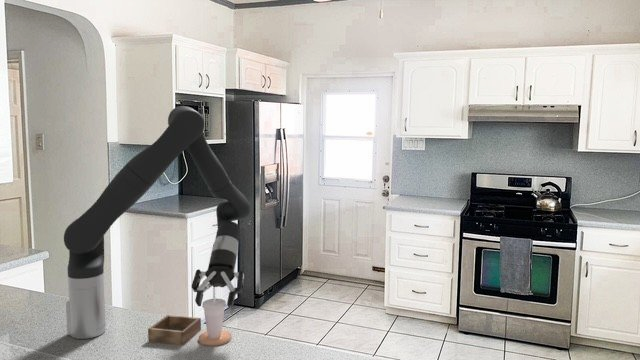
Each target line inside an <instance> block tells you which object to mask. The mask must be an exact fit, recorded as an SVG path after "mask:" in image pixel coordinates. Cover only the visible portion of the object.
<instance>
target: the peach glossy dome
mask: <svg viewBox="0 0 640 360" xmlns="http://www.w3.org/2000/svg"><path fill="white" fill-rule="evenodd" d="M232 337H233V336H232V333H231V332H230V331H228V330H226V329H222V334H221V337H219V338H215V339H212V338H209V337H208V334H207V330H206V331H204V332H202V333H200V334H199V336H198V343H199V344H200V345H203V346H207V345H208V347H209V346H210V347H216V346H217V347H218V346H223V345H225V344H228V343H229V342H231V340H232Z"/></svg>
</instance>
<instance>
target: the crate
mask: <svg viewBox="0 0 640 360" xmlns="http://www.w3.org/2000/svg"><path fill="white" fill-rule="evenodd" d="M174 329H175V330H174ZM176 329H177V330H176ZM200 331H202V318H201V317H195V316H194V317H192V316H184V315H183V316H182V315H181V316H180V315H171V314H166V316H164V317H162V318H161V319H160V320H159V321H157V322H156V323H155V324H153V325H151V326H150V327H149V328H148V329H147V337H148V338H147V341H148V342H152V343H162V344H172V345H173V344H174V345H181V346H182V345H183V346H184V345H185V344H187V343H188V342H189V341H190V340H191V339H193V337H194V336H196V335H197V334H198V333H199V332H200ZM195 334H196V335H195Z"/></svg>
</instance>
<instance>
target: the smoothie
mask: <svg viewBox="0 0 640 360" xmlns="http://www.w3.org/2000/svg"><path fill="white" fill-rule="evenodd" d="M226 305H227V303H226V300H225V299H222V298H216V287H213V288H212V298H209V299H206V300H204V301H202V305H201V307H202V308H203V311H204V312H203V313H204V319H205V326H206V331H207V334H208V337H209V338H212V339H215V338H219V337H221V334H222V330H223V325H224V324H223V323H224V315H225V308H226Z"/></svg>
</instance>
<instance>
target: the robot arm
mask: <svg viewBox="0 0 640 360" xmlns="http://www.w3.org/2000/svg"><path fill="white" fill-rule="evenodd" d="M167 117H168V118H167V124H168V127H166V128H165V130H164V131H163V132H162V134H161V135H160V136H159V137H158V138H157V139H156V140H155V141H154V142H153V143H152V144H151V145H149V146H148V147H146V148H145V149H143V150H142V151H140V152H138V154H136V155H135V156H133V157H132V158H131V159H130V160H128V162H127V163H126V164H125V165H124V166H123V167H122V168H121V169H120V170H119V171H118V173H117V174H115V176H114V177H113V178H112V180H111V181H110V182H109V184H108V185H107V186H106V187H105V188H104V190H103V191H102V193H101V194H100V196H99V197H98V198H97V200H96V201H95V202H94V203H93V204H92V205H91V206H90V207H89V208H88V209H87V210H86V211H84V213H82V215H80V216H79V217H78V218H77V219H75V220H73V221H72V222H71V223H70V224H69V225H67V228H65V231H64V234H63V243H64V246H65V248H66V249H67V250H68V253H69V254H68V255H69V256H68V265H67V283H68V284H67V287H68V301H66V303H65V310H66V313H65V314H66V316H65V317H66V332H67V333H66V334H67V336H69V337H71V338H73V339H79V340H83V339H84V340H85V339H86V340H87V339H93V338H95V337H99V336H101V335H103V334H104V333H105V332H106V331H107V327H106V326H107V324H106V323H107V322H106V319H107V318H106V302H105V301H106V299H105V298H106V297H105V275H104V273H105V272H104V271H105V269H104V268H105V266H104V265H105V235H106V234H107V232H108V230H109V229H110V228H111V227H112V225H113V224H114V223H115V222H116V221H117V220H118V219H119V218H120V217H121V216H122V215H124V213H126V212H127V211H128V210H129V209H130V208H131V207H133V206H134V205H135V204H136V203H137V202H138V201H139V200H141V198H142V197H143V196H144V195H145V194H146V193H147V192H148V191H149V190H150V189H151V187H153V185H154V184H155V183H156V182H157V180H158V179H160V177H161V176H162V175H163V174H164V173H165V172H166V171H167V169H168V168H169V166H170V165H171V164H172V163H173V162H174V161H175V160H176V158H178V157H179V156H180V155H181V154H182V153H183V152H184V151H185V150H187V152H188V153H189V155H190V156H191V158H192V161H193V163H194V164H195V166H196V167H197V170H198V171H199V174H200V175H201V177H202V179H203V181H204V183H205V185H206V186H207V189H208V190H209V193H210V194H211V195H212V196H213V198H215V199H219V200H221V199H222V200H221V201H220V202H219V203H218V204H217V206H216V210H215V211H216V221H217V223H216V224H217V230H216V235H215V239H214V241H213V242H214V243H213V245H212V248H211V253H210V258H209V261H208V267H207V270H206V271H202V270H201V269H197V270H195V274H194V275H193V276H194V277H193V281H192V283H191V289H192V291H193V293H196V295H195V299H194V302H195V304H196V306H197V307H202V304H203V298H204V293H205V292H206V291H207V290H210V289H211V288H212V287H213V288H214V287H215V288H218V287H220V288H225V287H226V288H227V289H228V291H229V292H228V298H227V303H226V305H227V307H228V308H232V306H234V305H235V299H236V295H237V294H241V295H242V294H243V292H244V283H245V274H244V271H243V270H239V271H238V272H235V268H236V263H237V257H238V256H239V255H238V254H239V243H240V237H241V236H240V235H241V232H242V231H241V229H242V228H241V226H240V225H239V224H238V223H237V222H235V221H239V220H240V221H241V220H242V219H243V220H244V219H246V218H247V217H249V215H250V213H251V205H250V202H249V200H248V199H247V197H246V196H245V195H244V194H243V193H242V192H241V191H240V190H239V189H238V188H237V187H236V185H235V184H233V183H232V181H231V179H230V177H229V175H228V173H227V171H226V170H225V168H224V166H223V165H222V163H221V162H220V160H219V159H218V157H217V156H216V154H215V153H214V152H213V150H212V148H211V147H210V145H209V143H208V142H207V139H206V138H205V135H204V133H203V132H204V130H205V120H204V116H203V115H202V114H201V113H200V112H198V111H197V110H195V109H194V108H193V107H190V106H187V105H186V106H185V105H180V106H179V105H178V106H176V107H175V108H172V110H170V112H169V115H168V116H167ZM204 278H205V279H204ZM235 278H236V280H237V286H236V287H235V286H233V283H232V281H233V280H234V279H235ZM203 279H204V280H203ZM202 280H203V281H202ZM201 281H202V283H201Z"/></svg>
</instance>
